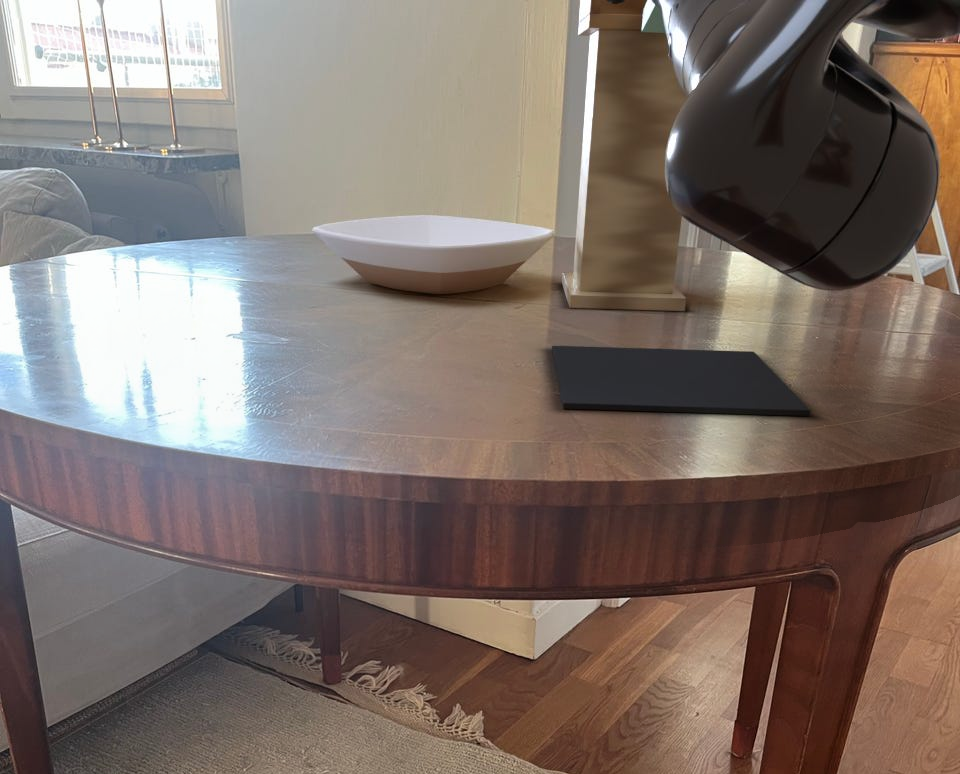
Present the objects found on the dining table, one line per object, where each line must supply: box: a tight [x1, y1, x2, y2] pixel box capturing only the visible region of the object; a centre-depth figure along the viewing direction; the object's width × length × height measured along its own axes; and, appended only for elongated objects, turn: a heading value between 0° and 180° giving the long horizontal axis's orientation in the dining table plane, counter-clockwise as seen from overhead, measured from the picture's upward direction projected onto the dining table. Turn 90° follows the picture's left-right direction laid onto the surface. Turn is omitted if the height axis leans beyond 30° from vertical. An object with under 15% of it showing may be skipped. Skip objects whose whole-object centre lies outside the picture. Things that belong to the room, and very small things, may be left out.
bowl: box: [312, 214, 556, 295], centre depth 99 cm, size 22×22×5 cm
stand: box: [561, 0, 687, 312], centre depth 90 cm, size 11×13×26 cm
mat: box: [551, 345, 812, 417], centre depth 68 cm, size 16×16×1 cm
